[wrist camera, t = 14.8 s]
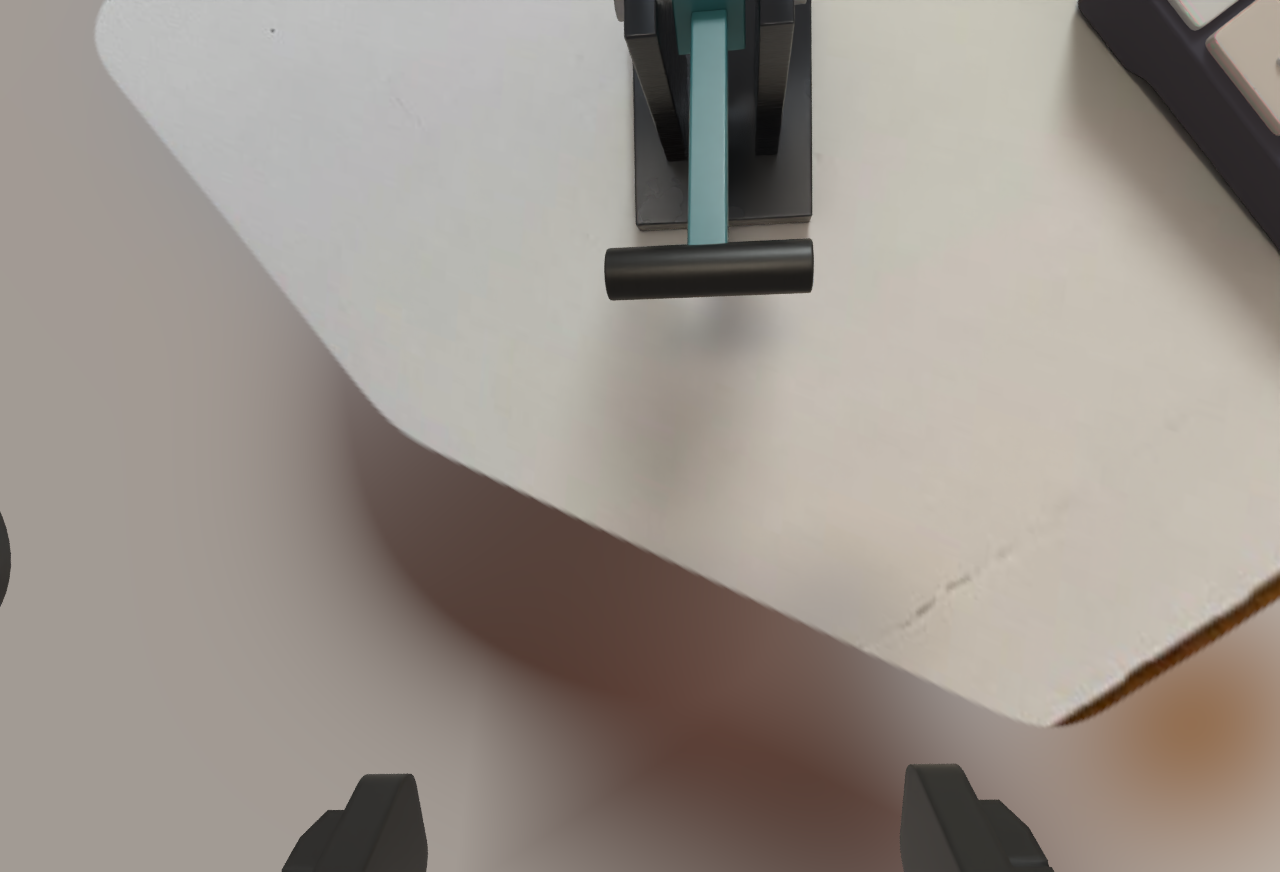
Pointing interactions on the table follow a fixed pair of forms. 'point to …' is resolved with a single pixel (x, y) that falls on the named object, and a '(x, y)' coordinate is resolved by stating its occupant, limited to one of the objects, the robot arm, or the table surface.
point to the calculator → (1211, 81)
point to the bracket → (757, 115)
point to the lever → (709, 188)
